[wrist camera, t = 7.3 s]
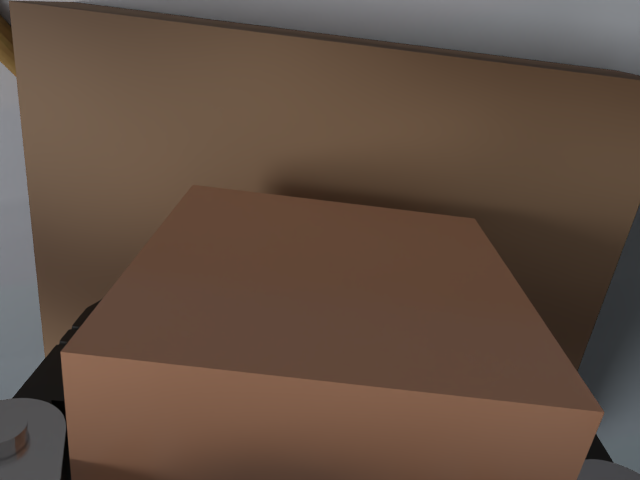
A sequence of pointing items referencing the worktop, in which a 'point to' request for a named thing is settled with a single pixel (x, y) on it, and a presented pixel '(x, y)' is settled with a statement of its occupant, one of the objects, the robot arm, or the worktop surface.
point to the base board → (316, 145)
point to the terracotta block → (320, 353)
